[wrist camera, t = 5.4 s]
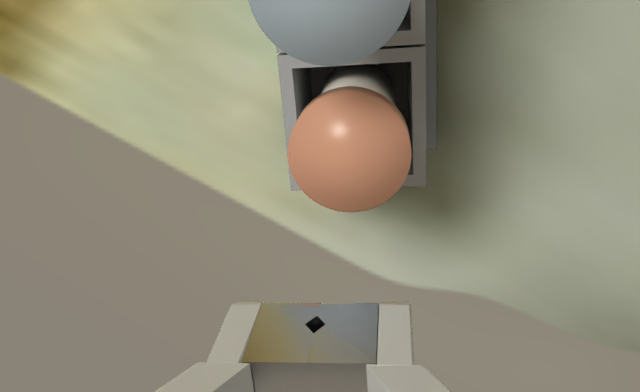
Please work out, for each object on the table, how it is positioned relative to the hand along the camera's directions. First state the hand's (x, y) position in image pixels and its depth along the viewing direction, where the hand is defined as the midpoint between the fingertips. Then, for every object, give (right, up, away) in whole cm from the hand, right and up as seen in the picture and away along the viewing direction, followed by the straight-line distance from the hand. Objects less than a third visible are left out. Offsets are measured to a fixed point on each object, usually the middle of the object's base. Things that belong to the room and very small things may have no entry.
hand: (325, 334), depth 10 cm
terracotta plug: (+2, +7, +16) cm, 18 cm away
